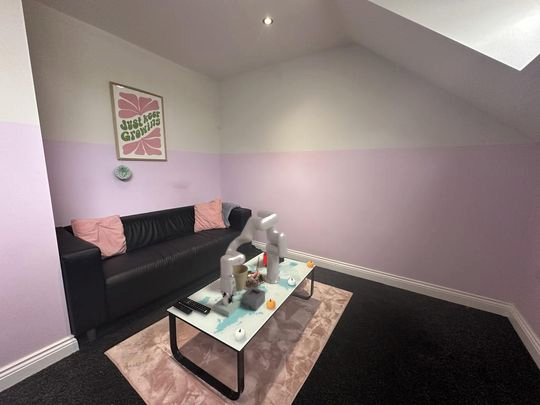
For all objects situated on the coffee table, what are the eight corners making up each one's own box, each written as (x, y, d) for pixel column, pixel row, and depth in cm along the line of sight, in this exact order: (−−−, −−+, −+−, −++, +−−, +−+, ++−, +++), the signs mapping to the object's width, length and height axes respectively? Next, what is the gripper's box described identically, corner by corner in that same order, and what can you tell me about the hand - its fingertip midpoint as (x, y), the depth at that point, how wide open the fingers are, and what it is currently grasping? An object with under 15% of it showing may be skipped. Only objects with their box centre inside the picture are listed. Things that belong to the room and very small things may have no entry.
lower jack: (226, 299, 140) (226, 294, 140) (240, 305, 135) (240, 300, 134) (214, 310, 130) (213, 305, 130) (228, 317, 124) (228, 311, 124)
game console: (281, 257, 205) (282, 244, 202) (286, 260, 201) (287, 245, 198) (261, 267, 185) (261, 252, 182) (266, 270, 180) (267, 254, 178)
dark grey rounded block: (251, 296, 144) (251, 286, 143) (264, 301, 139) (265, 291, 138) (242, 305, 135) (241, 295, 134) (256, 311, 130) (256, 300, 128)
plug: (227, 303, 135) (227, 293, 134) (231, 305, 133) (231, 295, 132) (223, 307, 131) (223, 297, 130) (227, 309, 130) (227, 299, 128)
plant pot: (242, 280, 163) (242, 262, 160) (252, 290, 151) (252, 270, 149) (224, 287, 155) (224, 267, 152) (233, 297, 143) (233, 276, 140)
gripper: (241, 275, 128) (241, 302, 131) (221, 269, 136) (221, 294, 139) (233, 281, 121) (234, 309, 124) (212, 274, 129) (213, 300, 132)
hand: (227, 301), depth 132 cm, fingers open, 4 cm apart
